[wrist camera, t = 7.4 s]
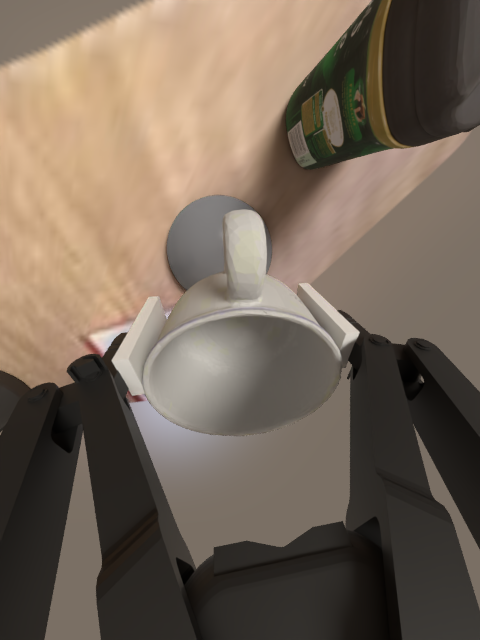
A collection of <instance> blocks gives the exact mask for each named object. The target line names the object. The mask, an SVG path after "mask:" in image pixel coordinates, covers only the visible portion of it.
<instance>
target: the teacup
mask: <svg viewBox="0 0 480 640" xmlns="http://www.w3.org/2000/svg"><path fill="white" fill-rule="evenodd" d="M222 225H223V245H224V271H223V272H220V273H217V274H214V275H211V276H208V277H206V278H204V279H202V280H200V281H199V282H197V283H196V284H194V285H193V286H192V287H190V288H189V289H188V290H187V291H186V292H185V293H184V294H183V295H182V297H181V298H180V299H179V301H178V302H177V303H176V305H175V307H174V308H173V310H172V312H171V313H170V315H169V317H168V319H167V321H166V323H165V325H164V327H163V329H162V332H161V334H160V336H159V339H158V341H157V343H156V344H155V345H154V347H153V348H152V349H151V351H150V353H149V355H148V357H147V359H146V361H145V364H144V367H143V376H142V385H143V390H144V393H145V395H146V397H147V399H148V401H149V403H150V404H151V405H152V406H153V408H154V409H155V410H156V411H157V412H158V413H159V414H161V415H162V416H163V417H165V418H166V419H168V420H169V421H170V422H173V423H175V424H176V425H178V426H181V427H183V428H186V429H189V430H192V431H196V432H200V433H206V434H210V435H223V436H224V435H225V436H228V435H229V436H245V435H253V434H261V433H266V432H270V431H274V430H277V429H280V428H283V427H286V426H288V425H291V424H293V423H295V422H297V421H299V420H301V419H303V418H305V417H306V416H308V415H310V414H311V413H313V412H315V411H316V410H317V409H318V408H320V407H321V406H322V405H323V404H324V403H325V402H326V401H327V400H328V399H329V398H330V397H331V395H332V393H333V392H334V391H335V389H336V387H337V386H338V384H339V380H340V378H341V372H342V371H341V370H342V357H341V354H340V350H339V349H338V347H337V345H336V344H335V342H334V340H333V339H332V337H331V336H330V335H329V334H328V333H327V332H326V331H325V330H324V329H323V328H322V327H321V326H320V325H319V324H318V322H317V321H316V320H315V318H314V317H313V315H312V314H311V313H310V311H309V310H308V309H307V307H306V306H305V305H304V303H303V302H302V301H301V300H300V299H299V297H298V296H297V295H296V294H295V293H294V292H293V291H292V290H291V289H290V288H288V287H287V286H286V285H285V284H284V283H282V282H281V281H279V280H277V279H275V278H273V277H271V276H269V275H266V264H267V246H266V234H265V228H264V224H263V221H262V219H261V217H260V215H258V214H257V213H256V212H254V211H252V210H245V209H242V210H234V211H231V212H229V213H227V214H225V215H224V217H223V222H222Z"/></svg>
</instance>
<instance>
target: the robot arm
mask: <svg viewBox="0 0 480 640" xmlns="http://www.w3.org/2000/svg"><path fill="white" fill-rule="evenodd" d="M297 296H298V297H299V299H300V300H301V301H302V302H303V303H304V305H305V306H306V307H307V309H308V310H309V311H310V313H311V314H312V315H313V317H314V318H315V320H316V321H317V322H318V324H319V325H320V326H321V327H322V328H323V329H324V330H325V331H326V332H327V333H328V334H329V335H330V336H331V337H332V339H333V340H334V342H335V344H336V345H337V347H338V349H339V350H340V354H341V357H342V368H345V367H346V365H347V363H348V361H349V362H350V363H351V364H352V367H351V370H350V372H349V374H348V377H347V379H349V378H350V500H349V505H348V509H347V514H346V528H345V526H344V524H343V521H341V522H336V523H331V524H327V525H321V526H317V527H312V528H311V529H310V530H308V531H307V532H305V533H304V534H302V535H301V536H299V537H298V538H296V539H295V540H294V541H292V542H291V543H289V544H288V545H286V546H285V547H276V546H271V545H266V544H260V543H256V542H250V541H243V542H239V543H233V544H229V545H224V546H219V547H214V554H213V555H212V556H210V557H209V558H208V559H206V561H204V562H203V563H202V564H201V565H200V566H199V567H198V568H197V569H196V567H195V565H194V562H193V559H192V557H191V555H190V552H189V550H188V548H187V546H186V543H185V542H184V540H183V538H182V536H181V534H180V532H179V529H178V527H177V524H176V522H175V519H174V517H173V514H172V512H171V509H170V507H169V504H168V502H167V499H166V496H165V494H164V491H163V489H162V486H161V483H160V481H159V479H158V476H157V473H156V471H155V468H154V466H153V463H152V460H151V458H150V455H149V453H148V450H147V448H146V445H145V443H144V440H143V437H142V435H141V432H140V430H139V427H138V425H137V422H136V420H135V417H134V414H133V412H132V409H131V407H130V404H129V402H128V399H127V398H126V394H127V391H128V390H129V391H130V393H131V395H132V396H134V395H141V394H145V393H144V390H143V385H142V376H143V367H144V364H145V361H146V359H147V357H148V355H149V353H150V351H151V349H152V348H153V347H154V345H155V344H156V343H157V341H158V339H159V336H160V334H161V332H162V329H163V327H164V325H165V323H166V321H167V320H166V317H165V314H164V310H163V307H162V304H161V301H160V297H159V296H154V297H148V299H147V301H146V303H145V304H144V306H143V308H142V309H141V311H140V313H139V314H138V316H137V318H136V320H135V321H134V323H133V325H132V326H131V328H130V330H129V332H127V333H121V334H120V335H118V336H117V337H116V338H115V339H114V340H113V342H112V343H111V346H110V347H109V348H108V351H106V353H105V354H104V356H103V357H102V358H101V356H100V355H98V354H89V355H86V356H83V357H81V358H79V359H77V360H75V361H74V362H73V363H71V364H70V366H69V367H68V368H67V373H68V374H69V375H70V376H71V378H72V379H73V380H74V381H75V383H72V384H69V385H66V386H63V387H60V388H59V387H58V386H57V385H56V384H55V383H50V382H49V383H44V384H41V385H39V386H36V387H34V388H33V389H31V390H30V389H29V387H28V386H27V385H25V384H24V383H23V382H21V381H20V380H18V379H17V378H15V377H13V376H11V375H9V374H7V373H4V372H2V371H0V432H1V431H2V433H1V435H0V640H44V638H45V633H46V627H47V622H48V616H49V611H50V605H51V600H52V595H53V590H54V584H55V579H56V574H57V568H58V563H59V557H60V551H61V546H62V541H63V536H64V530H65V525H66V520H67V514H68V508H69V503H70V498H71V493H72V487H73V482H74V476H75V471H76V465H77V460H78V454H79V449H80V444H81V438H82V433H83V432H84V438H85V445H86V451H87V459H88V466H89V472H90V479H91V486H92V492H93V500H94V506H95V513H96V519H97V527H98V533H99V540H100V547H101V554H102V568H101V571H100V573H99V575H98V577H97V585H96V597H97V609H98V617H99V626H100V634H101V640H480V610H479V607H478V603H477V600H476V596H475V593H474V590H473V587H472V583H471V581H470V577H469V574H468V570H467V567H466V564H465V560H464V557H463V554H462V550H461V547H460V544H459V540H458V537H457V534H456V530H455V527H454V524H453V522H452V519H451V517H450V514H449V513H448V511H447V510H446V509H445V507H444V506H443V505H442V504H440V503H439V502H437V501H436V500H435V499H434V498H433V496H432V494H431V491H430V487H429V484H428V480H427V476H426V472H425V468H424V464H423V461H422V457H421V453H420V449H419V445H418V441H417V437H416V433H415V430H414V426H415V428H416V430H417V432H418V434H419V436H420V438H421V439H422V441H423V443H424V445H425V447H426V449H427V451H428V453H429V455H430V456H431V458H432V460H433V462H434V464H435V466H436V468H437V470H438V471H439V473H440V475H441V477H442V479H443V481H444V483H445V485H446V487H447V488H448V490H449V492H450V494H451V496H452V498H453V500H454V502H455V503H456V505H457V507H458V509H459V511H460V513H461V515H462V516H463V519H464V521H465V522H466V524H467V526H468V528H469V530H470V532H471V534H472V535H473V538H474V539H475V541H476V543H477V545H478V547H479V549H480V392H479V391H478V390H477V389H476V388H475V387H474V385H472V383H471V382H470V381H469V380H468V379H467V378H466V377H465V376H464V375H463V374H462V373H461V372H460V371H459V370H458V368H457V367H456V366H455V365H454V364H453V363H452V362H451V361H450V360H449V359H448V358H447V357H446V356H445V355H444V354H443V352H442V351H441V350H440V349H439V348H438V347H437V346H435V345H434V344H432V343H431V342H429V341H427V340H424V339H418V338H410V339H408V341H407V342H406V344H405V345H401V344H392V343H391V342H390V341H389V340H388V339H387V338H385V337H383V336H380V335H376V334H370V333H368V332H367V331H366V330H365V329H364V328H363V327H362V326H361V325H360V324H358V323H356V321H355V320H354V319H352V317H351V316H350V315H348V314H347V313H345V312H343V311H341V310H336V309H335V308H333V307H332V306H331V305H330V304H329V303H328V302H327V301H326V300H325V299H324V298H323V297H322V296H321V295H320V294H319V293H318V292H316V291H315V290H314V289H313V288H312V287H311V286H310V285H309V284H308V283H300V284H298V289H297ZM421 376H422V377H423V379H424V383H423V382H422V381H421V379H420V378H421ZM413 424H414V426H413Z"/></svg>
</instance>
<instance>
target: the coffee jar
mask: <svg viewBox="0 0 480 640" xmlns="http://www.w3.org/2000/svg"><path fill="white" fill-rule="evenodd" d="M479 125H480V0H372V1H371V2H370V3H369V5H368V6H367V7H366V8H365V9H364V10H363V12H362V13H361V14H360V15H359V16H358V17H357V19H356V20H355V21H354V22H353V23H352V25H351V26H350V27H349V28H348V29H347V31H346V32H345V33H344V34H343V35H342V36H341V38H340V39H339V40H338V41H337V42H336V44H335V45H334V46H333V47H332V48H331V49H330V51H329V52H328V53H327V54H326V55H325V56H324V58H323V59H322V60H321V61H320V62H319V63H318V64H317V65H316V67H315V68H314V69H313V70H312V71H311V72H310V73H309V75H308V76H307V77H306V78H305V79H304V80H303V81H302V83H301V84H300V85H299V86H298V87H297V88H296V90H295V91H294V93H293V95H292V96H291V98H290V101H289V104H288V107H287V112H286V127H287V134H288V139H289V143H290V146H291V149H292V152H293V155H294V157H295V159H296V161H297V162H298V164H299V165H300V166H301V167H303V168H304V169H309V170H312V169H317V168H321V167H325V166H328V165H332V164H335V163H339V162H342V161H346V160H350V159H353V158H357V157H361V156H365V155H368V154H372V153H376V152H380V151H383V150H388V149H393V148H401V149H403V148H410V147H416V146H421V145H425V144H427V143H431V142H434V141H437V140H440V139H443V138H446V137H449V136H452V135H456V134H459V133H461V132H469V131H471V130H472V129H474V128H475V127H477V126H479Z"/></svg>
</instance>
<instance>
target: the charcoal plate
mask: <svg viewBox="0 0 480 640" xmlns="http://www.w3.org/2000/svg"><path fill="white" fill-rule="evenodd" d="M242 209H245V210H252V211H254V212H256V211H255V210H254V209H253V208H252V207H251V206H249V205H248V204H246V203H245V202H243V201H241V200H239V199H236V198H233V197H229V196H224V195H212V196H206V197H203V198H200V199H198V200H196V201H194V202H192V203H191V204H189V205H188V206H186V207H185V208H184V209H183V210H182V211H181V212H180V213H179V214H178V216H177V217H176V218H175V220H174V222H173V224H172V226H171V228H170V231H169V235H168V239H167V256H168V261H169V265H170V268H171V270H172V272H173V274H174V276H175V277H176V279H177V281H178V282H179V283H180V284H181V285H182V286H183V287H184V288H185V289H186V290H188V289H189V288H190V287H192V286H193V285H194V284H196V283H197V282H199V281H200V280H202V279H204V278H206V277H208V276H211V275H214V274H217V273H220V272H223V271H224V245H223V225H222V222H223V217H224V215H225V214H227V213H229V212H231V211H234V210H242ZM256 213H257V212H256ZM257 214H258V213H257ZM258 215H259V214H258ZM261 219H262V218H261ZM262 221H263V219H262ZM263 224H264V228H265V234H266V246H267V264H266V274H267V272H268V269H269V267H270V263H271V257H272V243H271V238H270V234H269V231H268V228H267V226H266V224H265V222H264V221H263Z"/></svg>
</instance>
